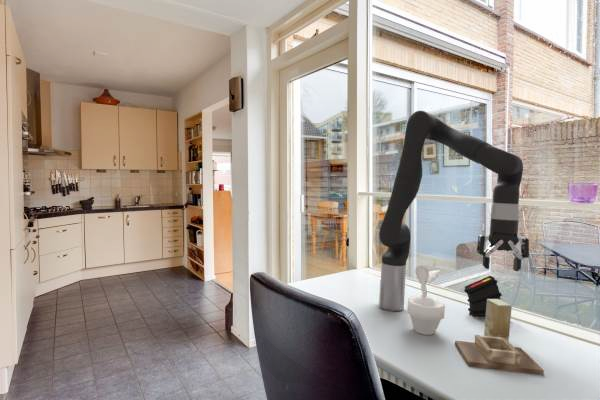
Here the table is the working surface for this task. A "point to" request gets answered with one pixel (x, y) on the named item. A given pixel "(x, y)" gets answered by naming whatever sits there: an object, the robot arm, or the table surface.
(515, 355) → the socket board
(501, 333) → the skincare box
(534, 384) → the table surface
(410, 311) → the potted plant
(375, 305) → the table surface
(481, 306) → the magazine
